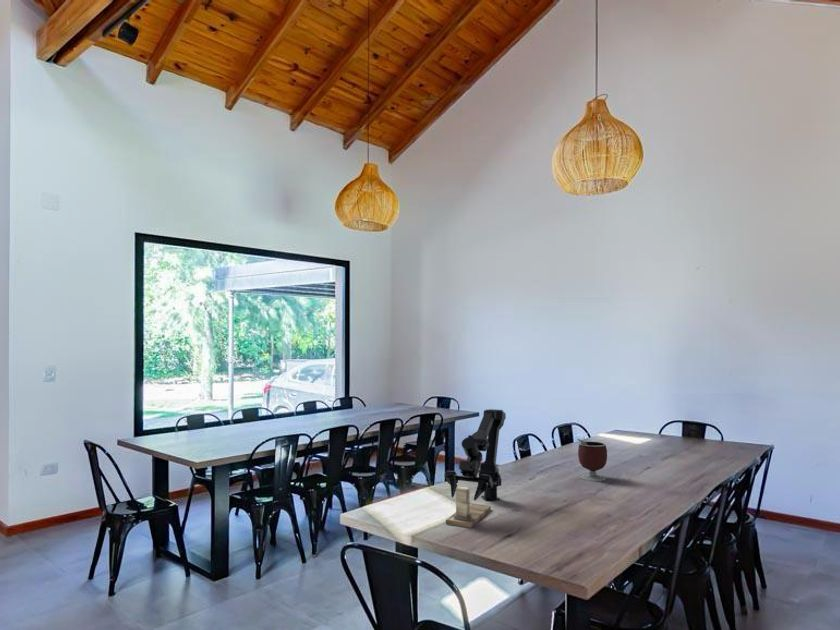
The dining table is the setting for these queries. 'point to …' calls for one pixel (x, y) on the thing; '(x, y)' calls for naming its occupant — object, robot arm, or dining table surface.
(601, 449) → the mate gourd
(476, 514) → the walnut board
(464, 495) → the tall beige pillar block
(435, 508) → the dining table surface
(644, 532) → the dining table surface
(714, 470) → the dining table surface
